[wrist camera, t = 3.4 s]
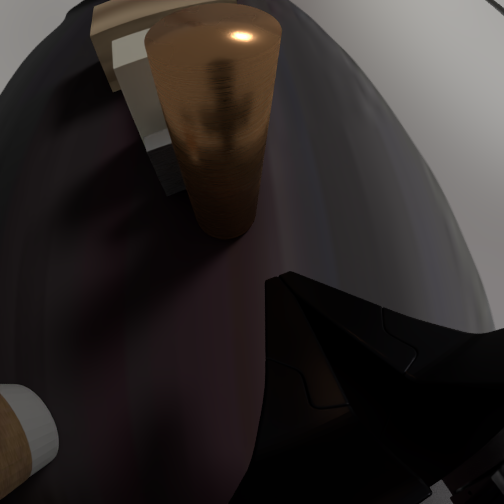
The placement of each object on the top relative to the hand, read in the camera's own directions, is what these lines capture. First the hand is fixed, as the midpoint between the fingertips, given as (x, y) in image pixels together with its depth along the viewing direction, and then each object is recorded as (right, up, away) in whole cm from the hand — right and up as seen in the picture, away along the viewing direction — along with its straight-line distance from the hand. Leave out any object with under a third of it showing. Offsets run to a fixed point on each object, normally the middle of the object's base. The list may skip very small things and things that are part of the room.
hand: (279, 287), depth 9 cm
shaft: (-6, +12, +10) cm, 17 cm away
